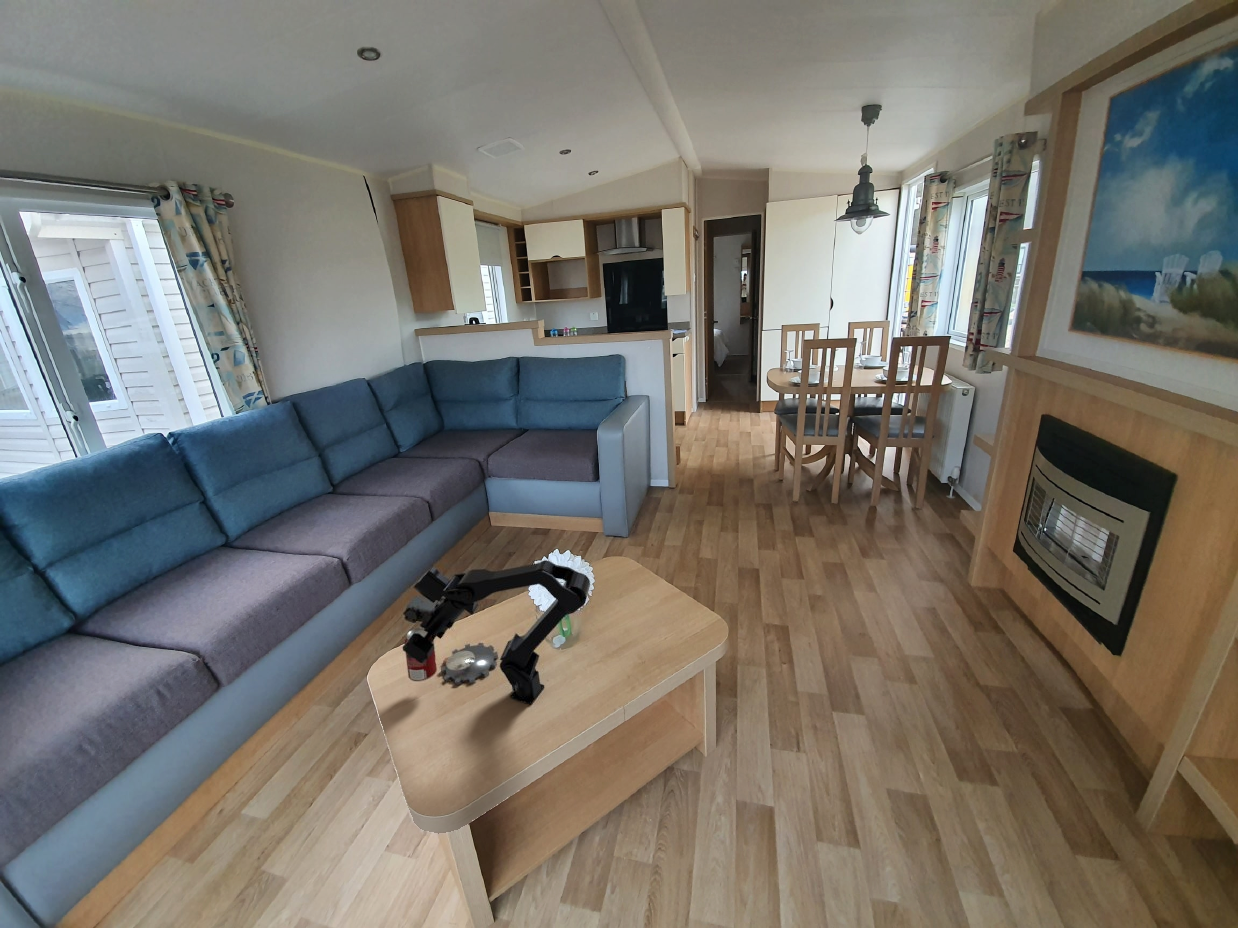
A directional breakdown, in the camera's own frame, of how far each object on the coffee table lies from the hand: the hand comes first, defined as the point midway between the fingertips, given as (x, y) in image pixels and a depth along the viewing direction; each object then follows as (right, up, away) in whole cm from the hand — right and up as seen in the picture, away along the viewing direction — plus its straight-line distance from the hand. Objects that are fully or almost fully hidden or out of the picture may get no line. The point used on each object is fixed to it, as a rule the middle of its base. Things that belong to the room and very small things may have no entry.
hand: (415, 647), depth 124 cm
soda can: (+1, -8, +2) cm, 8 cm away
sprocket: (+10, -9, +12) cm, 18 cm away
